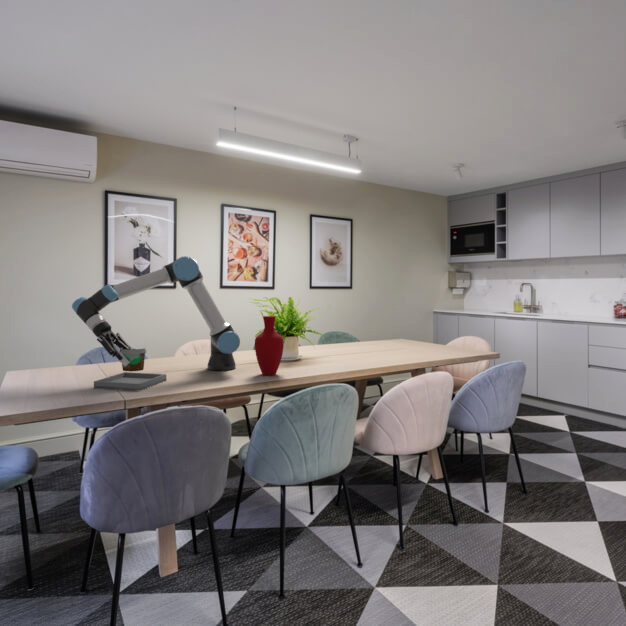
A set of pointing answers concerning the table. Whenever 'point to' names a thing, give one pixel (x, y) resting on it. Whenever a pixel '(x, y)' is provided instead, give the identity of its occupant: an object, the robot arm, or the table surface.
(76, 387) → the table surface
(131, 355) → the food container
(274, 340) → the vase
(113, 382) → the gray square tray
